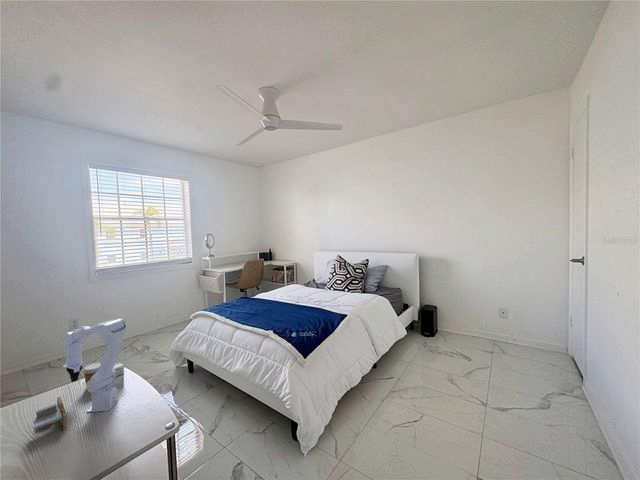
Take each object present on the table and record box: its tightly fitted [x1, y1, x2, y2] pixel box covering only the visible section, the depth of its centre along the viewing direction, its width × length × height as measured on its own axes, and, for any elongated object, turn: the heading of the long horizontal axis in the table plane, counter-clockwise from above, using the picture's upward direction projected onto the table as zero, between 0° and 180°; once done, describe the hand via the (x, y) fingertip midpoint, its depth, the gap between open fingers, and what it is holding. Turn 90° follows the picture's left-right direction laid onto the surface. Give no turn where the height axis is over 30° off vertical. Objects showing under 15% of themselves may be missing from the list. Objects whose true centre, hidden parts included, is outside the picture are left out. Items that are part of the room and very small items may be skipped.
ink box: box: [111, 362, 125, 389], centre depth 143 cm, size 9×5×12 cm, turn 143°
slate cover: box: [32, 403, 62, 430], centre depth 111 cm, size 8×8×4 cm
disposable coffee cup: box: [82, 361, 102, 386], centre depth 143 cm, size 10×10×12 cm
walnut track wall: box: [56, 395, 68, 431], centre depth 119 cm, size 20×1×6 cm, turn 51°
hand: (74, 380), depth 131 cm, fingers closed
